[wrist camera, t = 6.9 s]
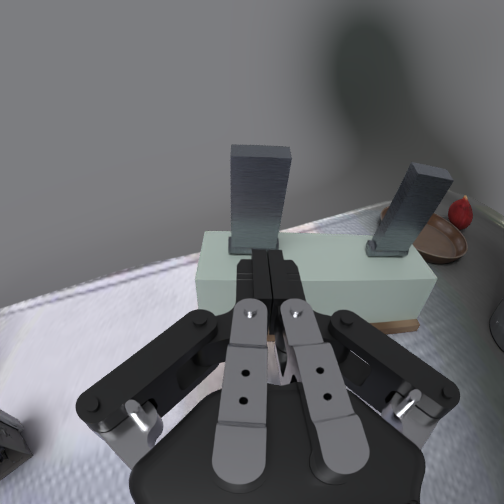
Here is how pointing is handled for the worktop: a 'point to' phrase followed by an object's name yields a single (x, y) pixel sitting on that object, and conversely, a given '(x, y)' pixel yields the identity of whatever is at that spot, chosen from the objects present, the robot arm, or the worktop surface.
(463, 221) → the onion
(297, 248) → the block
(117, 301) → the worktop surface
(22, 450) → the electrical switch
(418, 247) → the plant saucer
